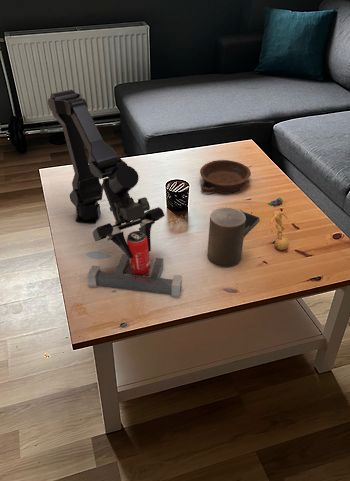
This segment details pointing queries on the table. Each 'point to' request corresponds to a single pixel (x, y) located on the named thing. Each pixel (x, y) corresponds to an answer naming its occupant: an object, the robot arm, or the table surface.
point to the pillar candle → (226, 236)
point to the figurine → (279, 231)
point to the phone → (250, 222)
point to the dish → (224, 176)
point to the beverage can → (139, 253)
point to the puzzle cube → (276, 202)
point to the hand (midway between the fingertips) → (140, 254)
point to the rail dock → (136, 279)
